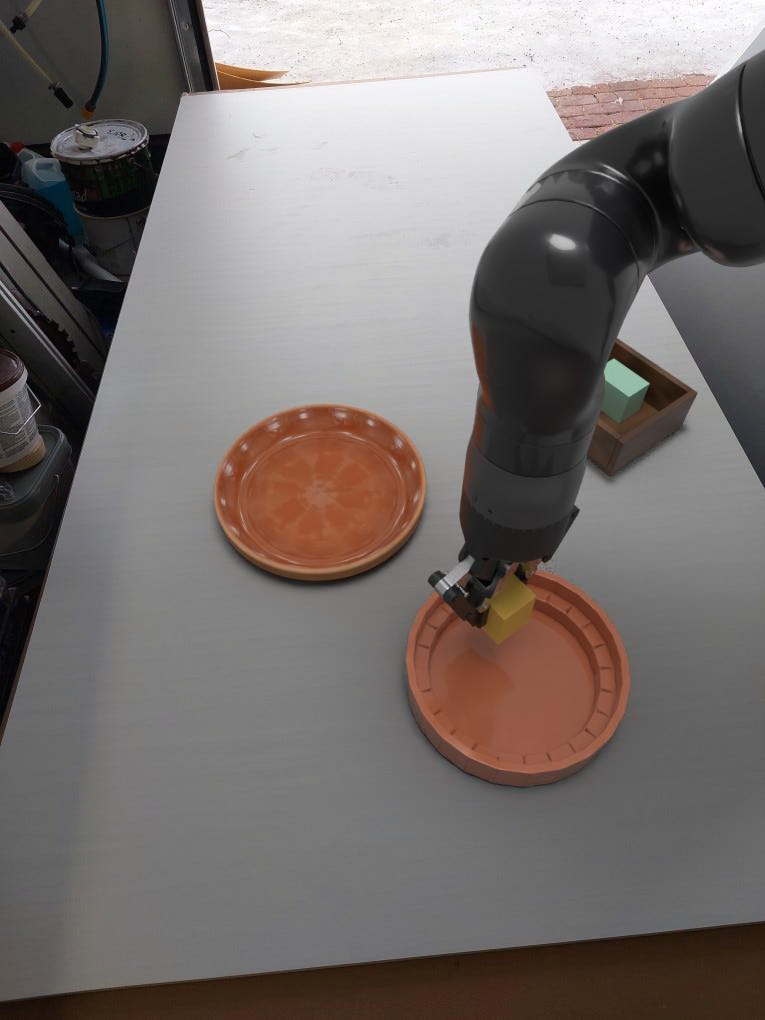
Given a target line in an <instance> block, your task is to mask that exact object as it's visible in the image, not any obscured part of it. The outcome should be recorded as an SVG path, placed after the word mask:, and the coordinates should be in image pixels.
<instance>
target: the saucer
mask: <svg viewBox="0 0 765 1020" xmlns="http://www.w3.org/2000/svg"><path fill="white" fill-rule="evenodd" d="M427 483H428V482H427V471H426V467H425V464H424V461H423V458H422V456H421V454H420V452H419V449H418V448H417V447H416V445H415V444H414V442H413V441H412V440H411V438H409V436H408V435H407V434H406V433H405V432H404V431H403V430H402V429H400V428H399V427H398V426H396V425H395V424H394V423H392V422H391V421H389V420H388V419H386V418H384V417H382V416H381V415H378V414H376V413H374V412H371V411H368V410H366V409H363V408H359V407H354V406H350V405H346V404H345V405H344V404H337V403H333V404H332V403H317V404H308V405H301V406H296V407H292V408H288V409H284V410H282V411H279V412H276V413H274V414H271V415H269V416H267V417H265V418H264V419H261V420H259V422H256V423H255V424H254V425H252V426H251V427H250V428H248V429H247V430H245V432H243V433H242V434H241V435H239V437H237V439H236V440H235V441H234V442H233V443H232V444H231V446H230V447H229V448H228V450H227V451H226V452H225V454H224V455H223V457H222V459H221V460H220V463H219V466H218V468H217V471H216V474H215V477H214V482H213V493H212V495H213V505H214V511H215V514H216V517H217V520H218V522H219V524H220V527H221V528H222V531H223V533H224V535H225V537H226V538H227V540H228V541H229V543H230V544H231V546H233V548H234V549H235V550H236V551H237V552H238V553H239V554H241V555H242V556H243V557H244V558H245V559H246V560H247V561H249V562H251V563H252V564H254V565H255V566H257V567H259V568H260V569H263V570H265V571H267V572H269V573H272V574H275V575H278V576H280V577H284V578H287V579H288V578H289V579H293V580H300V581H314V582H316V581H318V582H320V581H321V582H322V581H331V580H332V581H333V580H338V579H339V580H340V579H344V578H348V577H352V576H355V575H358V574H361V573H363V572H366V571H368V570H371V569H372V568H375V567H376V566H378V565H380V564H381V563H383V562H385V561H386V560H388V559H389V558H390V557H392V556H393V555H394V554H396V553H397V552H398V551H399V550H400V549H401V548H402V547H404V545H405V544H406V542H408V540H409V539H410V537H411V536H412V535H413V533H414V532H415V530H416V529H417V527H418V525H419V522H420V521H421V518H422V517H423V512H424V509H425V503H426V499H427V498H426V497H427V487H428V484H427Z"/></svg>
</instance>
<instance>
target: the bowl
mask: <svg viewBox="0 0 765 1020" xmlns="http://www.w3.org/2000/svg"><path fill="white" fill-rule="evenodd" d="M527 587H528V588H529V589H530V590H531V591H532V592H533V593H534V594H535V595H536V599H535V603H534V606H533V609H532V612H531V615H530V618H529V621H528V622H527V623H526V624H525V625H523V626H522V627H521V628H519V629H518V630H517V631H515V632H514V633H513V634H512V635H510V636H509V637H508V638H506V639H505V640H504V641H502V642H501V643H500V644H497V643H496V642H495V641H494V640H493V639H492V638H491V637H490V636H489V635H488V634H487V633H486V631H485V630H484V629H483V628H481V629H479V628H477V627H476V626H474V627H472V626H471V625H470V623H469V622H468V621H467V620H466V621H463V620H462V619H461V618H460V617H459V616H458V615H457V614H456V613H455V612H454V611H453V610H452V609H451V607H450V606H449V605H448V604H447V603H446V602H445V601H444V600H443V599H442V598H441V596H440V595H439V594H438V593H437V592H436V591H435V590H434V591H433V592H432V593H431V595H430V596H429V597H428V598H427V599H426V601H425V602H424V603H423V604H422V605H421V607H420V608H419V610H418V612H417V613H416V616H415V617H414V620H413V623H412V625H411V627H410V630H409V632H408V637H407V646H406V653H405V664H404V665H405V667H404V668H405V671H404V672H405V673H404V678H405V685H406V691H407V698H408V703H409V706H410V709H411V711H412V714H413V715H414V717H415V720H416V723H417V725H418V727H419V729H420V730H421V732H422V733H423V734H424V735H425V737H426V738H427V739H428V740H429V742H430V743H431V744H432V745H433V746H434V748H435V749H436V750H437V752H439V754H440V755H442V756H443V757H444V758H446V759H447V760H449V761H450V762H451V763H453V764H454V765H455V766H457V767H458V768H459V769H461V771H464V772H465V773H468V774H470V775H473V776H474V777H475V776H476V777H477V778H480V779H482V780H485V781H488V782H489V783H493V784H497V785H498V784H499V785H506V786H513V787H519V788H521V787H522V788H525V787H532V786H539V785H548V784H552V783H556V782H558V781H560V780H562V779H565V778H566V777H569V776H571V775H573V774H575V773H577V772H578V773H579V771H581V769H583V768H584V767H585V766H586V765H587V764H588V763H590V762H591V761H592V760H593V759H594V758H595V757H596V756H597V755H598V754H599V753H601V751H602V750H603V748H604V747H605V746H606V745H607V743H608V742H609V741H610V739H611V738H612V737H613V735H614V733H615V732H616V730H617V728H618V727H619V724H620V723H621V721H622V720H623V718H624V716H625V714H626V711H627V705H628V701H629V697H630V691H631V674H630V660H629V657H628V654H627V651H626V648H625V645H624V643H623V640H622V638H621V634H620V632H619V630H618V629H617V628H616V626H615V624H614V623H613V621H612V620H611V619H610V617H609V615H608V614H607V613H606V611H605V610H604V609H603V608H602V607H601V606H600V605H599V604H598V603H597V601H595V600H594V599H593V598H592V597H591V596H590V595H589V594H588V593H586V592H585V591H584V590H583V589H581V588H580V587H578V586H577V585H575V584H573V583H571V582H569V581H568V580H567V579H565V578H563V577H561V576H559V575H557V574H555V573H551V572H548V571H546V570H542V569H540V568H537V571H536V572H535V574H534V575H533V576H531V577H530V578H529V579H528V582H527Z"/></svg>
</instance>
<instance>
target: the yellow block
mask: <svg viewBox="0 0 765 1020" xmlns="http://www.w3.org/2000/svg"><path fill="white" fill-rule="evenodd" d="M535 599H536V595H535V594H534V593H533V592H532V591H531V590H530V589H529V588H528V587H527V586H526V585H525V584H524V583H523V582H522V581H521V580H520V579H518V578H517V577H516V576H515V575H514V574H513V573H512V574H510V577H509V579H508V581H507V583H506V585H505V587H504V590H503V592H501V593H500V594H498V595H496V596H495V597H493V600H492V602H491V604H490V605H491V606H490V609H489V613H488V618H487V623H486V625H485V626H483V627H482V628H483V629H484V630H485V631H486V633H487V634H488V635H489V636H490V637H491V638H492V639H493V640H494V641H495V642H496V643H497V644H500V643H501V642H502V641H504V640H505V639H506V638H508V637H509V636H510V635H512V634H513V633H514V632H515V631H517V630H518V629H519V628H521V627H522V626H523V625H525V624H526V623H527V622H528V621H529V618H530V615H531V612H532V609H533V606H534V603H535Z"/></svg>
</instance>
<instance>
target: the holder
mask: <svg viewBox="0 0 765 1020" xmlns="http://www.w3.org/2000/svg"><path fill="white" fill-rule="evenodd" d="M612 359H615V360H617V361H618V362H620V363H621V364H623V365H624V366H625V367H627V368H628V369H630V370H631V371H633V372H634V373H635V374H637V375H638V376H640V377H641V378H643V379H644V380H645V381H647V382H648V383H650V384H649V387H648V389H647V392H646V394H645V397H644V399H643V402H642V404H641V406H640V409H639V411H638V412H636V413H635V414H633V415H632V416H630V417H629V418H627V419H626V420H624V421H623V422H621V423H619V424H618V423H617V422H616V421H614V420H613V419H612V418H610V417H609V416H608V415H606V414H605V413H604V412H602V411H600V415H599V418H598V420H597V423H596V427H595V430H594V433H593V436H592V439H591V442H590V445H589V448H588V452H587V460H589V461H590V462H592V463H593V464H594V465H595V466H597V467H598V468H599V469H600V470H601V471H603V472H604V473H605V474H607V475H608V476H609V477H612V476H613V475H614V474H616V473H617V472H618V471H620V470H622V469H623V468H624V467H626V466H627V465H629V464H630V463H632V462H633V461H634V460H636V459H638V458H639V457H640V456H641V455H643V454H645V453H646V452H647V451H649V450H650V449H651V448H653V447H655V446H656V445H657V444H659V443H660V442H661V441H663V440H664V439H666V438H667V437H668V436H670V435H672V434H673V433H674V432H675V431H677V430H679V429H680V428H681V427H682V426H683V424H684V422H685V420H686V418H687V416H688V414H689V412H690V410H691V408H692V406H693V404H694V402H695V400H696V398H697V396H698V394H699V393H698V391H697V390H695V389H693V388H692V387H691V386H689V385H688V384H686V383H685V382H683V381H682V380H680V379H679V378H678V377H676V376H675V375H673V374H671V373H670V372H668V371H667V370H666V369H664V368H662V367H661V366H659V364H656V363H655V362H653V360H650V359H649V358H648V357H647V356H645V355H643V354H642V353H640V352H639V351H638V350H636V349H634V348H633V347H632V346H630V345H629V344H627V343H625V342H624V341H623V340H621V339H619V337H617V339H616V341H615V344H614V346H613V349H612V351H611V354H610V356H609V359H608V362H609V361H610V360H612Z"/></svg>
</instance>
